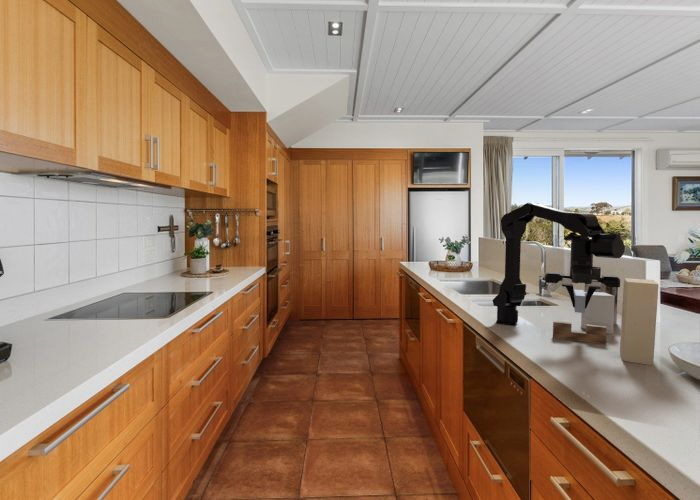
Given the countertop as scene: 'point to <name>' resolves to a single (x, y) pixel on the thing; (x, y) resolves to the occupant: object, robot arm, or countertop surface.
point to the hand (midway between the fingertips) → (579, 307)
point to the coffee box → (610, 291)
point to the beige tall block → (638, 320)
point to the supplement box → (599, 311)
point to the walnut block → (591, 335)
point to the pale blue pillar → (579, 301)
